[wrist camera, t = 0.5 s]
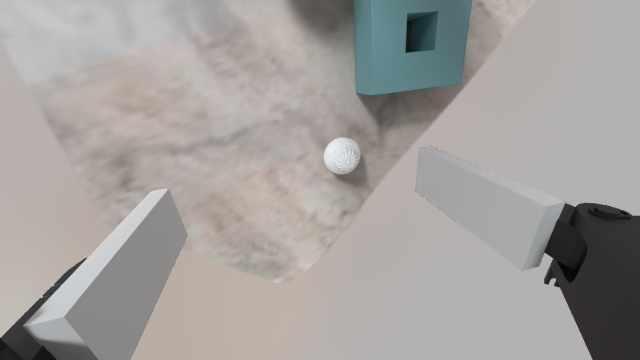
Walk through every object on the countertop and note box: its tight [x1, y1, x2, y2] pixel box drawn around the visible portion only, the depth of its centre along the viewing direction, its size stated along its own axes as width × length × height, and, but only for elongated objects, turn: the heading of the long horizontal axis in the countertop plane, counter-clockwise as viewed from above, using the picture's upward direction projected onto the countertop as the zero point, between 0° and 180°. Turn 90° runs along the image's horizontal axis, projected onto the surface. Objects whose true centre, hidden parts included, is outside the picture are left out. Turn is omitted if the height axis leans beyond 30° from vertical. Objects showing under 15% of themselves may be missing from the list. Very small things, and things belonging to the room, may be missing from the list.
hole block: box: [353, 0, 472, 95], centre depth 33 cm, size 14×14×6 cm
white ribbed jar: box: [324, 137, 361, 174], centre depth 38 cm, size 6×6×7 cm
